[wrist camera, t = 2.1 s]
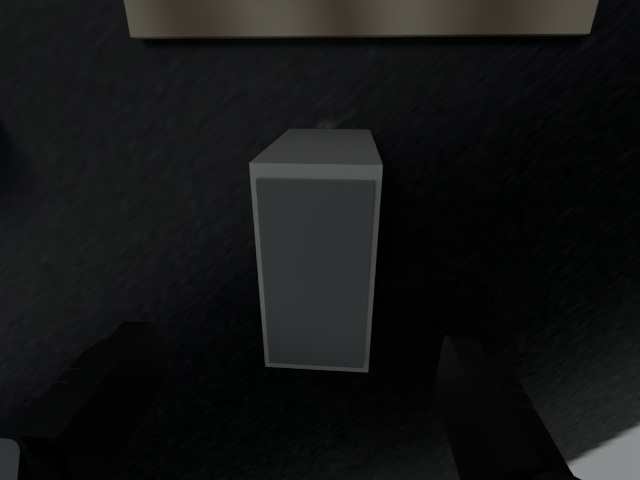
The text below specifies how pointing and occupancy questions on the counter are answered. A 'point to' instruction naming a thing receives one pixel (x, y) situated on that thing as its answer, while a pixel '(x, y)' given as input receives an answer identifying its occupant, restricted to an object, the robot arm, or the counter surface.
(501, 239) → the counter surface
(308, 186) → the block
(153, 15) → the rail board
